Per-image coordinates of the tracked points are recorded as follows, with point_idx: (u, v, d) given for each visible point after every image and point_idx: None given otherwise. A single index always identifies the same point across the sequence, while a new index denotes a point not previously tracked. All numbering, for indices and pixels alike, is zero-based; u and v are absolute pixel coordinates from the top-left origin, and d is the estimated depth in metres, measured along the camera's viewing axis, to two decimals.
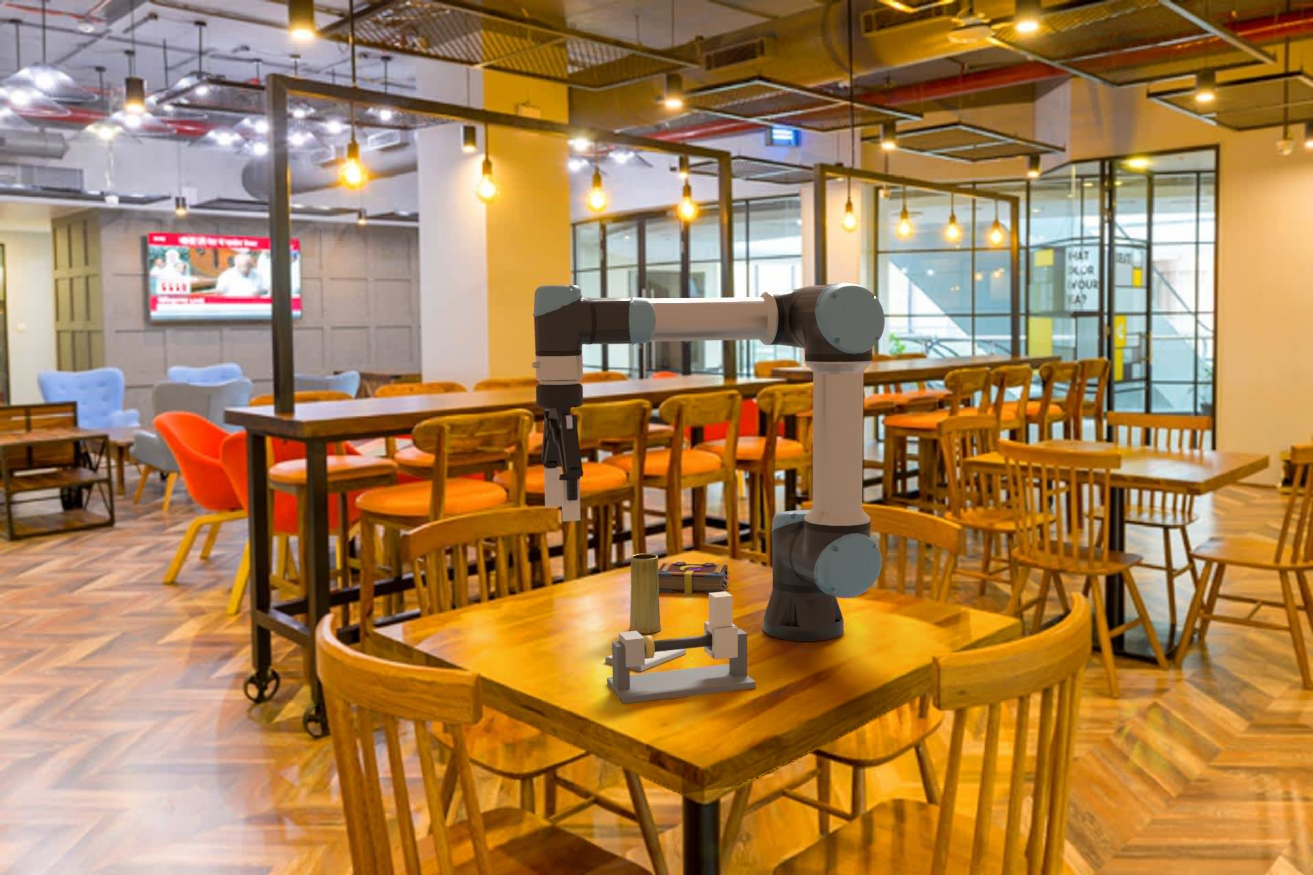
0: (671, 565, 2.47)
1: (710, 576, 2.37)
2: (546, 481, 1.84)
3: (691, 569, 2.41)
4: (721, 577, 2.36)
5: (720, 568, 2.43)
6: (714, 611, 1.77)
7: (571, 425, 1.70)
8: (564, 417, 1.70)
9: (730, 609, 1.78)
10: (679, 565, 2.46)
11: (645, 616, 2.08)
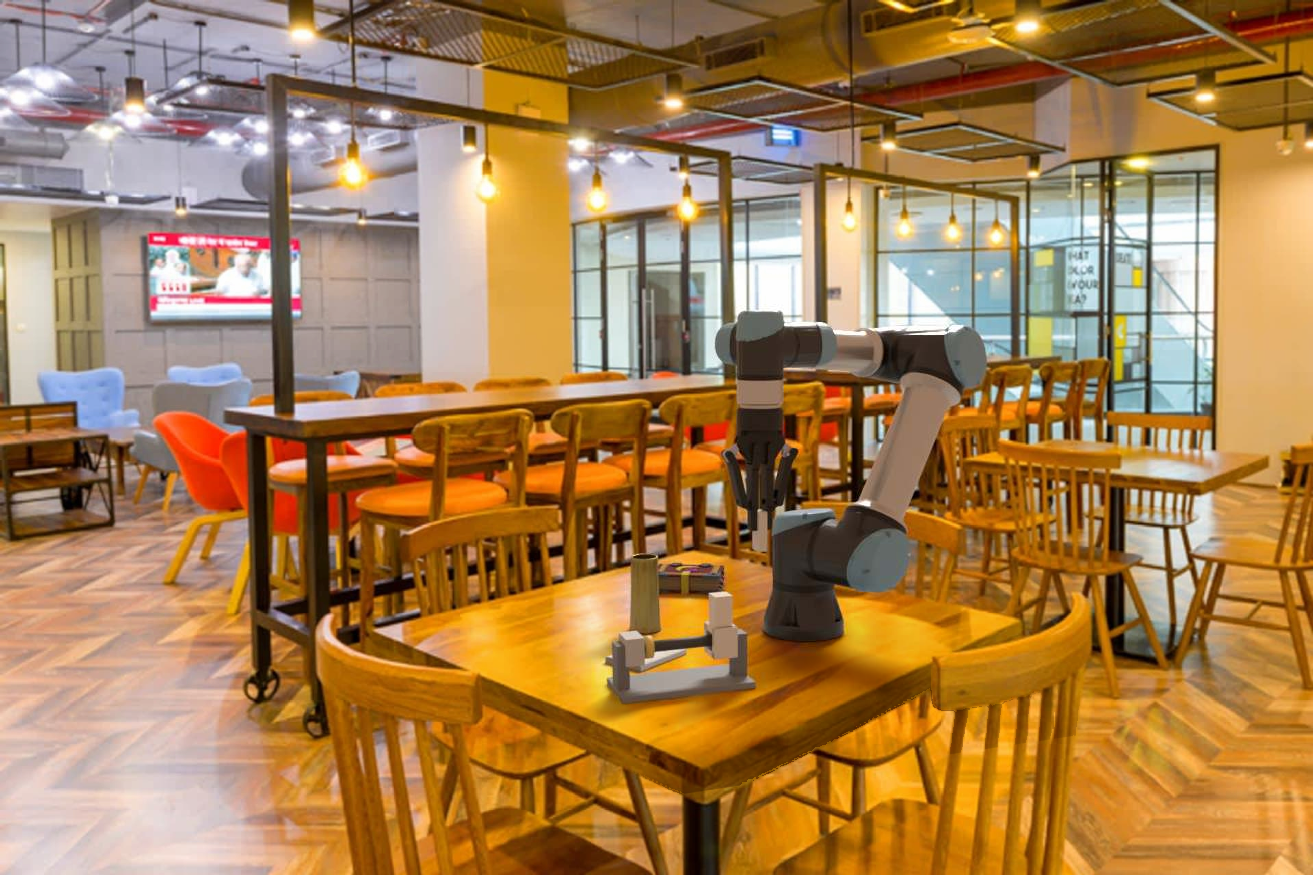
0: (667, 566, 2.46)
1: (707, 576, 2.36)
2: None
3: (688, 570, 2.41)
4: (718, 577, 2.36)
5: (717, 569, 2.43)
6: (714, 611, 1.77)
7: (728, 461, 1.76)
8: (722, 453, 1.77)
9: (730, 609, 1.78)
10: (675, 566, 2.45)
11: (645, 616, 2.08)
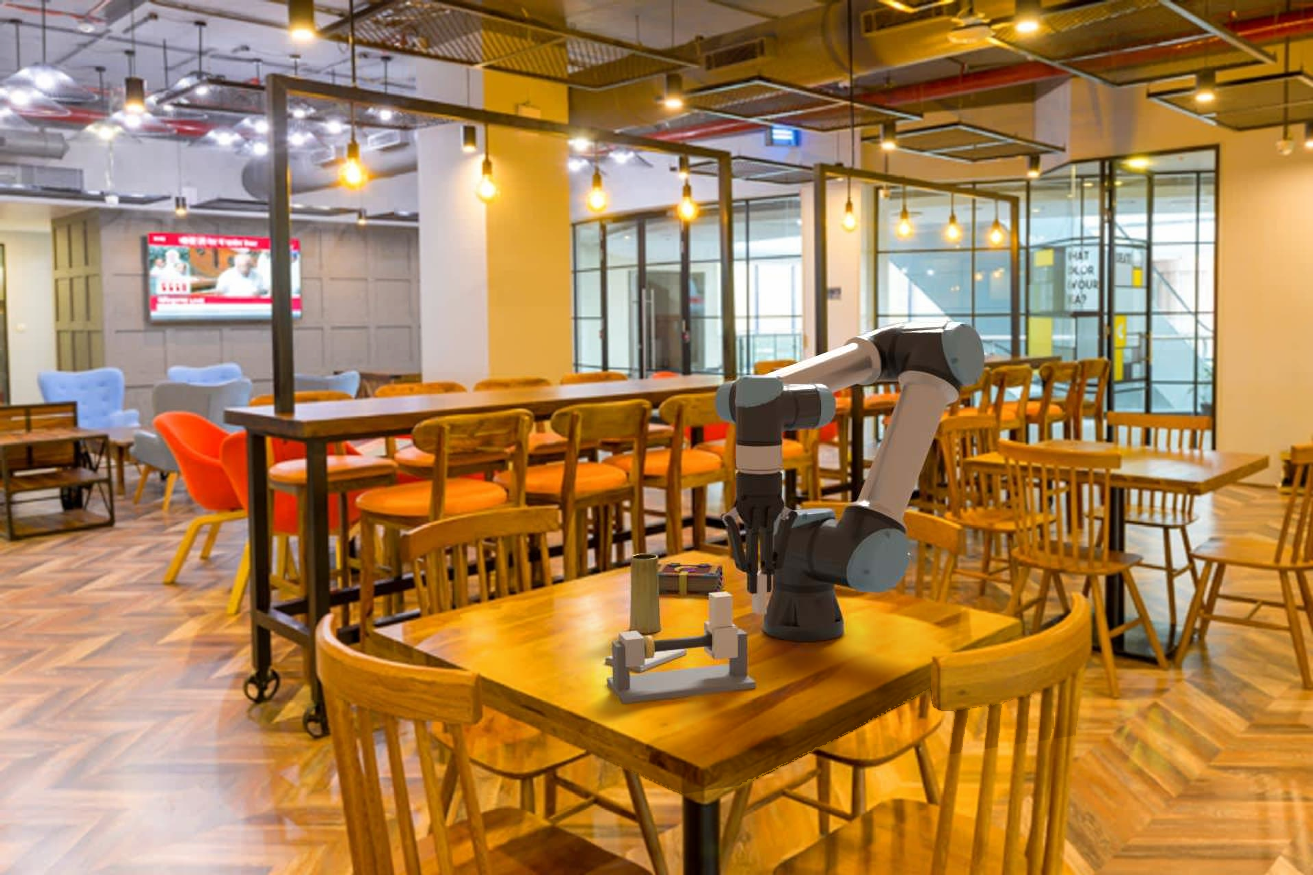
0: (666, 566, 2.46)
1: (705, 577, 2.36)
2: None
3: (686, 570, 2.40)
4: (716, 578, 2.35)
5: (715, 569, 2.43)
6: (714, 611, 1.77)
7: (727, 525, 1.77)
8: (721, 517, 1.78)
9: (730, 609, 1.78)
10: (674, 566, 2.45)
11: (645, 616, 2.08)
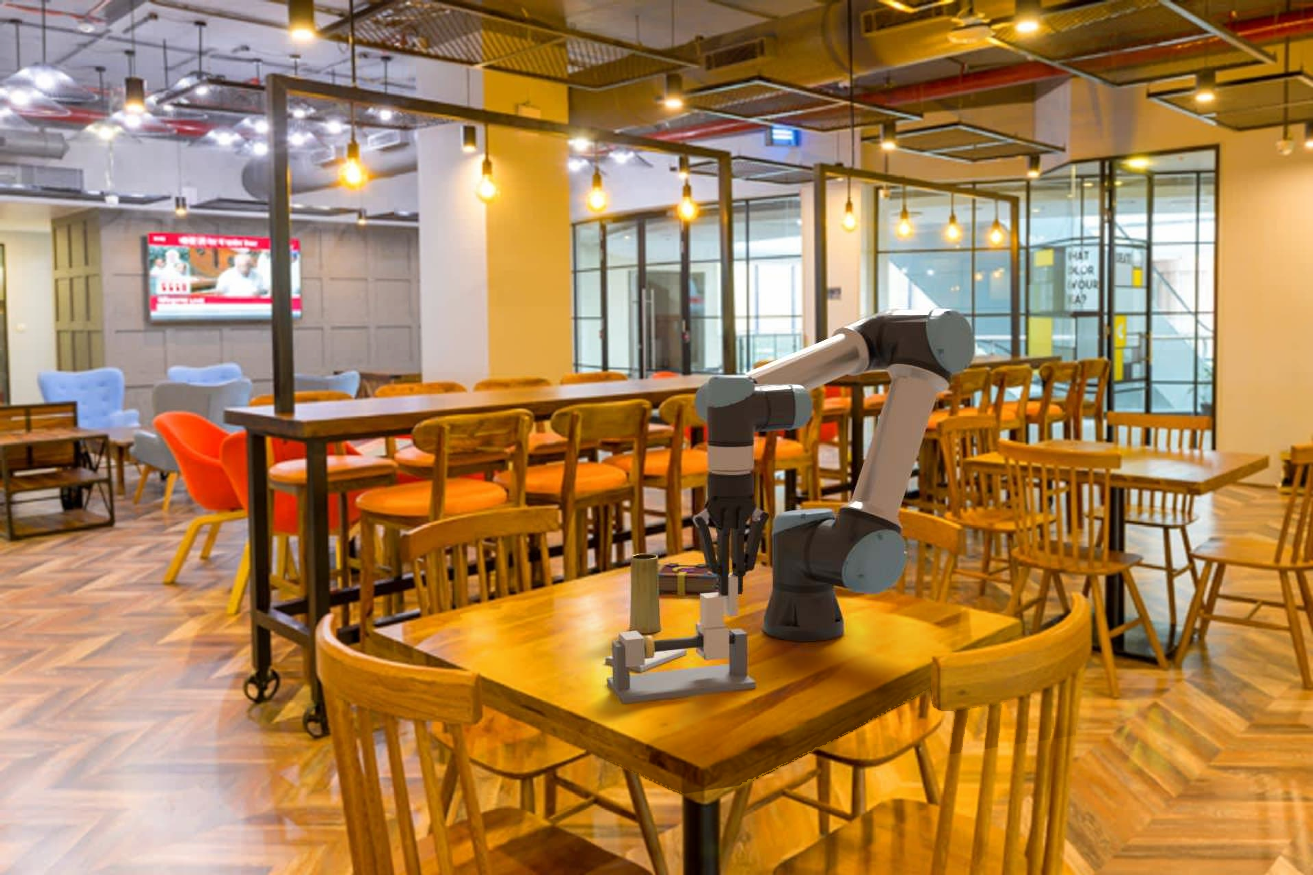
0: (664, 566, 2.46)
1: (703, 577, 2.36)
2: None
3: (684, 570, 2.40)
4: (714, 578, 2.35)
5: None
6: (705, 611, 1.77)
7: (698, 526, 1.76)
8: (692, 518, 1.77)
9: (722, 610, 1.77)
10: (672, 566, 2.45)
11: (645, 616, 2.08)
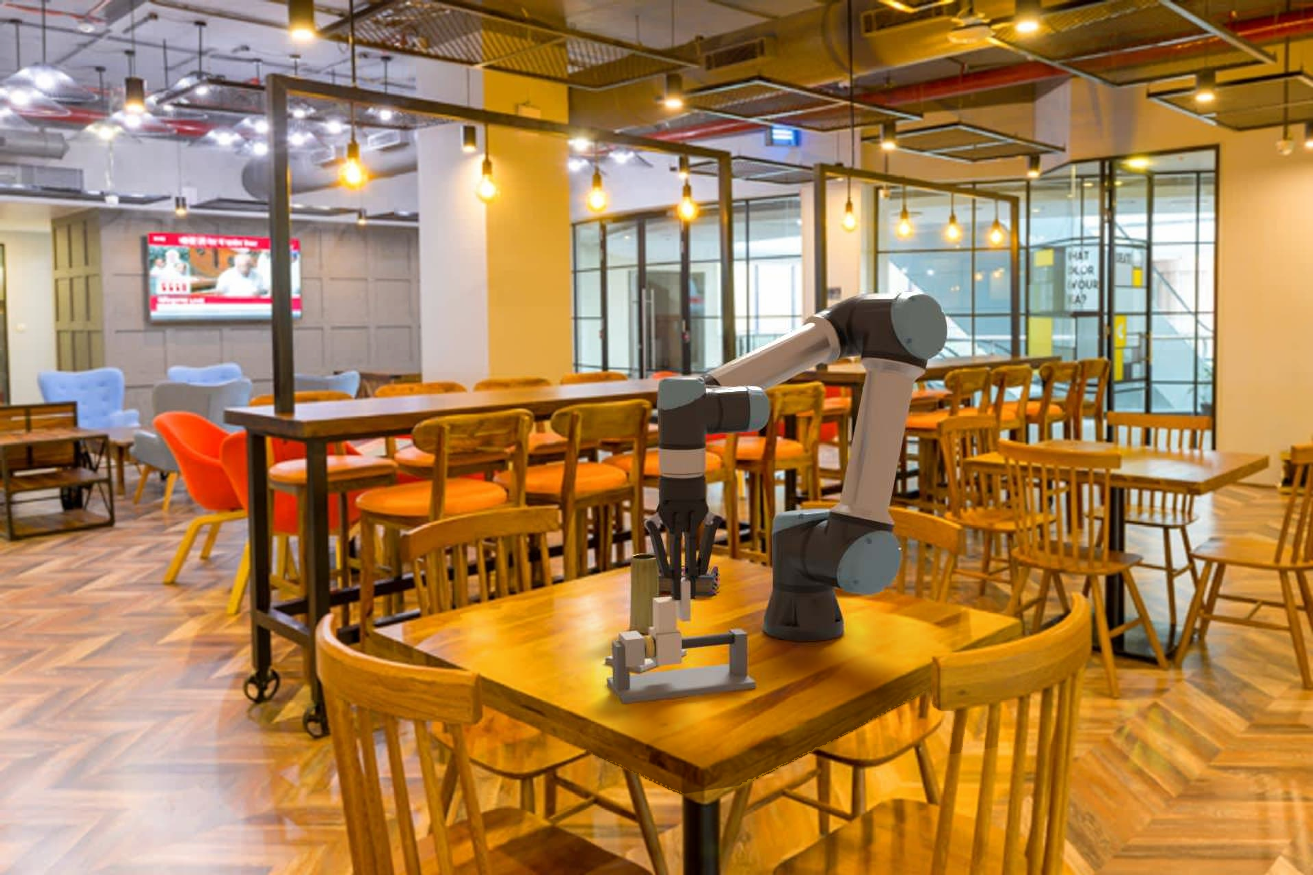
0: None
1: (700, 578, 2.35)
2: None
3: None
4: (711, 579, 2.35)
5: (710, 570, 2.42)
6: (658, 616, 1.74)
7: (649, 530, 1.74)
8: (643, 522, 1.74)
9: (674, 614, 1.75)
10: (669, 567, 2.44)
11: (645, 616, 2.08)
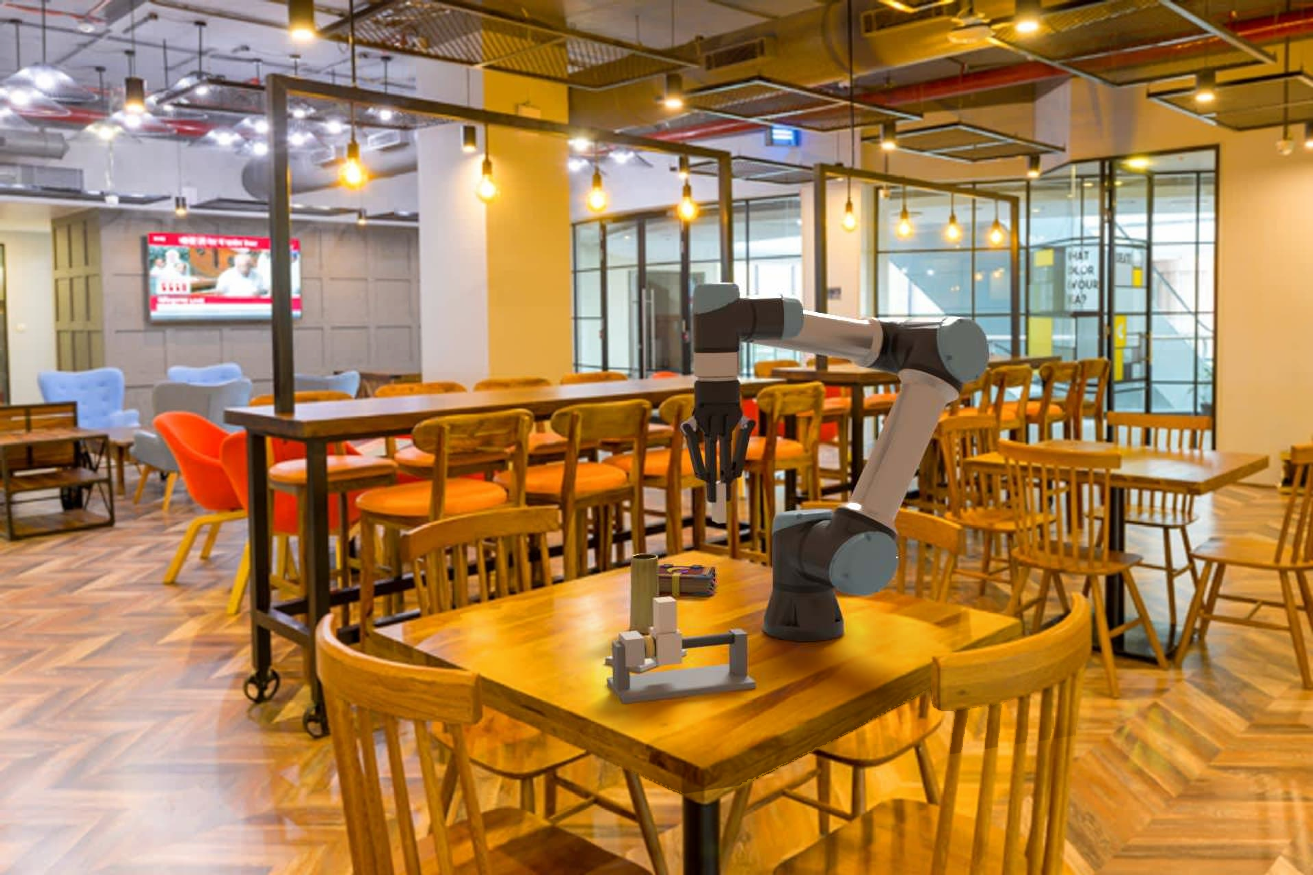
0: (658, 567, 2.45)
1: (698, 578, 2.35)
2: None
3: (679, 571, 2.39)
4: (709, 579, 2.34)
5: (708, 570, 2.42)
6: (658, 616, 1.74)
7: (685, 433, 1.78)
8: (679, 426, 1.78)
9: (674, 614, 1.75)
10: (666, 567, 2.44)
11: (645, 616, 2.08)
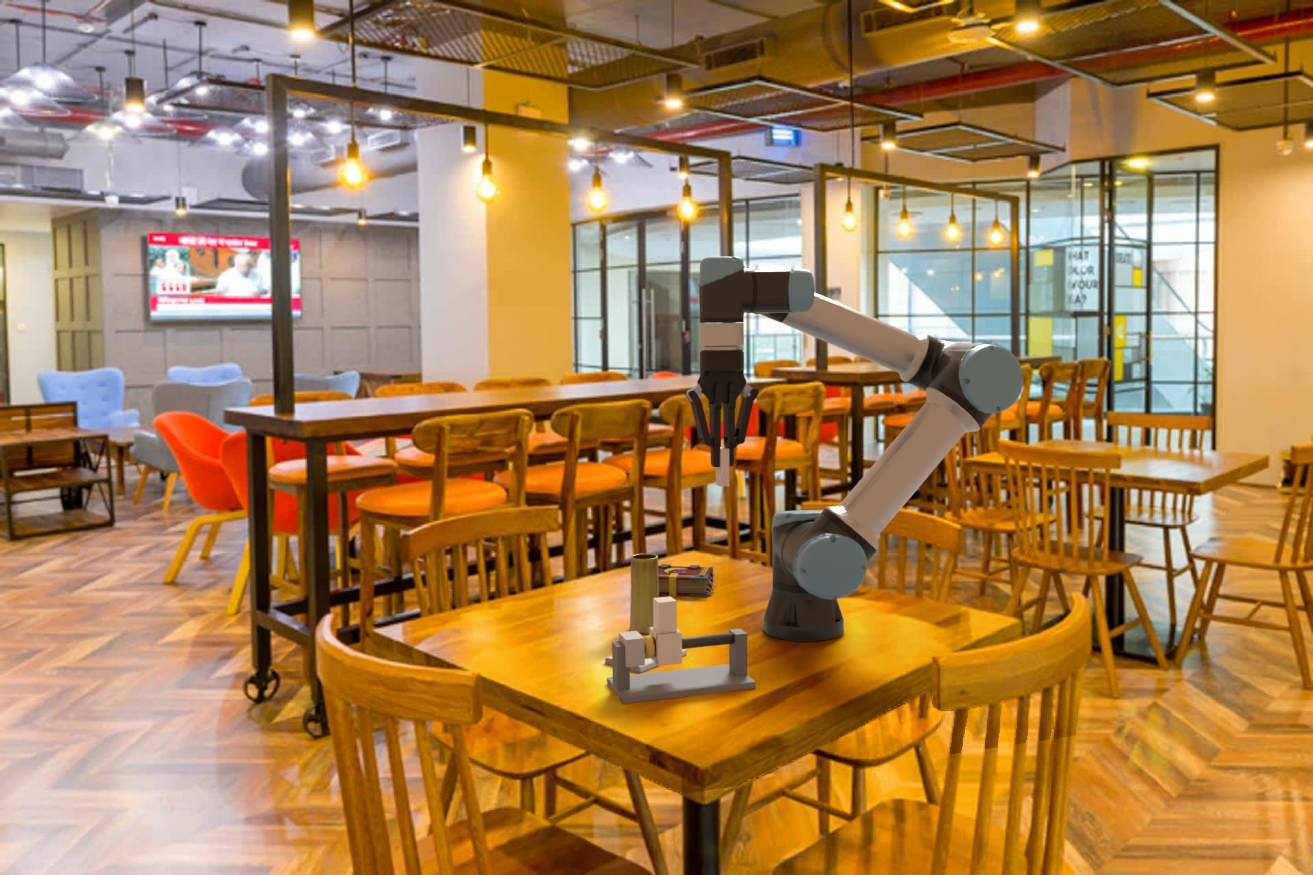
0: None
1: (695, 579, 2.34)
2: None
3: (676, 572, 2.39)
4: (706, 580, 2.34)
5: (705, 571, 2.41)
6: (658, 616, 1.74)
7: (691, 400, 1.86)
8: (685, 393, 1.87)
9: (674, 614, 1.75)
10: (664, 567, 2.44)
11: (645, 616, 2.08)
